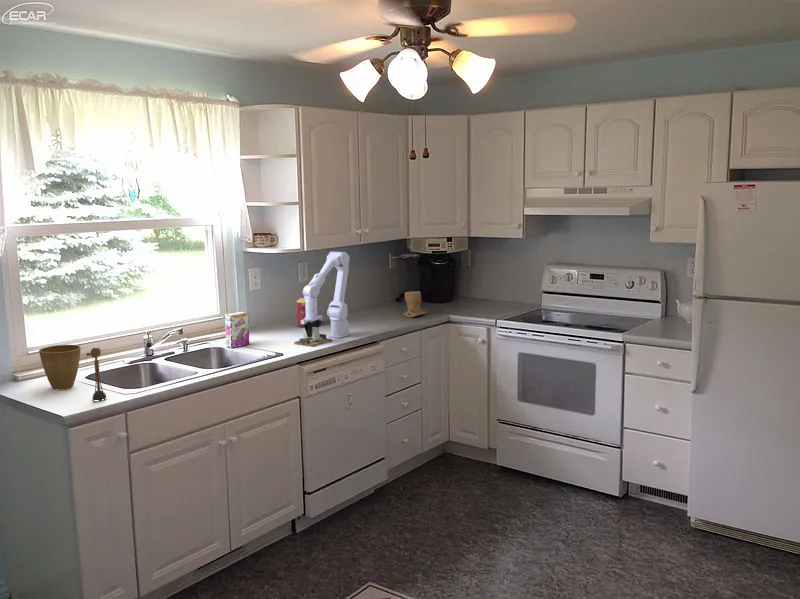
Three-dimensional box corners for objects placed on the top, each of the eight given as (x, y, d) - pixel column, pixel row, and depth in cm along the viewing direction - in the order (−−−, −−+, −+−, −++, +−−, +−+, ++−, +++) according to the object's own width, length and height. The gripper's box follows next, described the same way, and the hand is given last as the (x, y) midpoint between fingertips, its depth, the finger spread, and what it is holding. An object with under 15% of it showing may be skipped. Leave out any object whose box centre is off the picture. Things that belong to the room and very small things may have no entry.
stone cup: (411, 313, 437) (411, 288, 435) (428, 314, 431) (428, 290, 428) (398, 317, 424) (397, 292, 422) (415, 318, 418) (415, 293, 416)
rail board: (313, 338, 368) (313, 332, 367) (331, 340, 361) (331, 335, 361) (294, 344, 355) (293, 338, 355) (313, 346, 349) (312, 340, 348)
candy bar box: (232, 348, 347) (230, 315, 345) (225, 347, 350) (224, 314, 348) (250, 344, 356) (248, 312, 353) (244, 343, 359) (242, 311, 356)
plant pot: (65, 394, 274) (62, 353, 272) (33, 391, 278) (29, 351, 276) (92, 383, 288) (88, 345, 286) (61, 381, 292) (57, 343, 290)
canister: (315, 322, 411) (314, 292, 408) (321, 326, 399) (320, 295, 396) (293, 324, 406) (292, 293, 403) (299, 328, 394) (297, 297, 391)
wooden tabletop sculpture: (95, 403, 262) (90, 349, 259) (87, 401, 265) (82, 348, 262) (109, 398, 267) (104, 346, 264) (101, 397, 270) (97, 345, 266)
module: (309, 338, 361) (308, 326, 360) (319, 339, 358) (319, 327, 357) (303, 339, 358) (303, 327, 357) (314, 340, 354) (314, 328, 353)
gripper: (314, 306, 363) (315, 332, 366) (295, 310, 351) (296, 337, 353) (325, 307, 360) (326, 334, 362) (306, 312, 348) (307, 339, 350)
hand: (312, 336), depth 357 cm, fingers closed on module, 4 cm apart
